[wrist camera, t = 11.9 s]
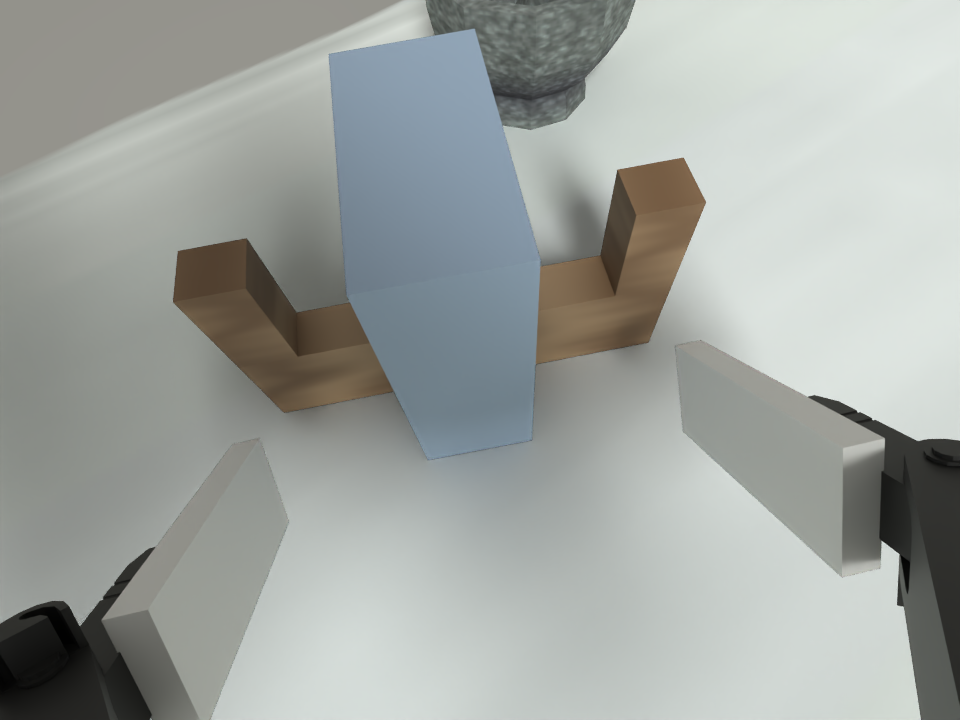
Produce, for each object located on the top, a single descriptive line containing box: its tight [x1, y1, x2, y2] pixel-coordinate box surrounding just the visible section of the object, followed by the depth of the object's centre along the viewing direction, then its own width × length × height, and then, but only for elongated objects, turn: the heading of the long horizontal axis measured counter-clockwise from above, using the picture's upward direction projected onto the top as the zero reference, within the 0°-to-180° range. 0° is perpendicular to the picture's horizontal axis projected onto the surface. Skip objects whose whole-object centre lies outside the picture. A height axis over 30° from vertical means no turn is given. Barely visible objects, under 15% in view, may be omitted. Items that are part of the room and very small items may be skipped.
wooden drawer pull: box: [173, 158, 706, 413], centre depth 19 cm, size 15×2×8 cm, turn 100°
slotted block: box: [329, 29, 541, 460], centre depth 18 cm, size 4×8×11 cm, turn 10°
